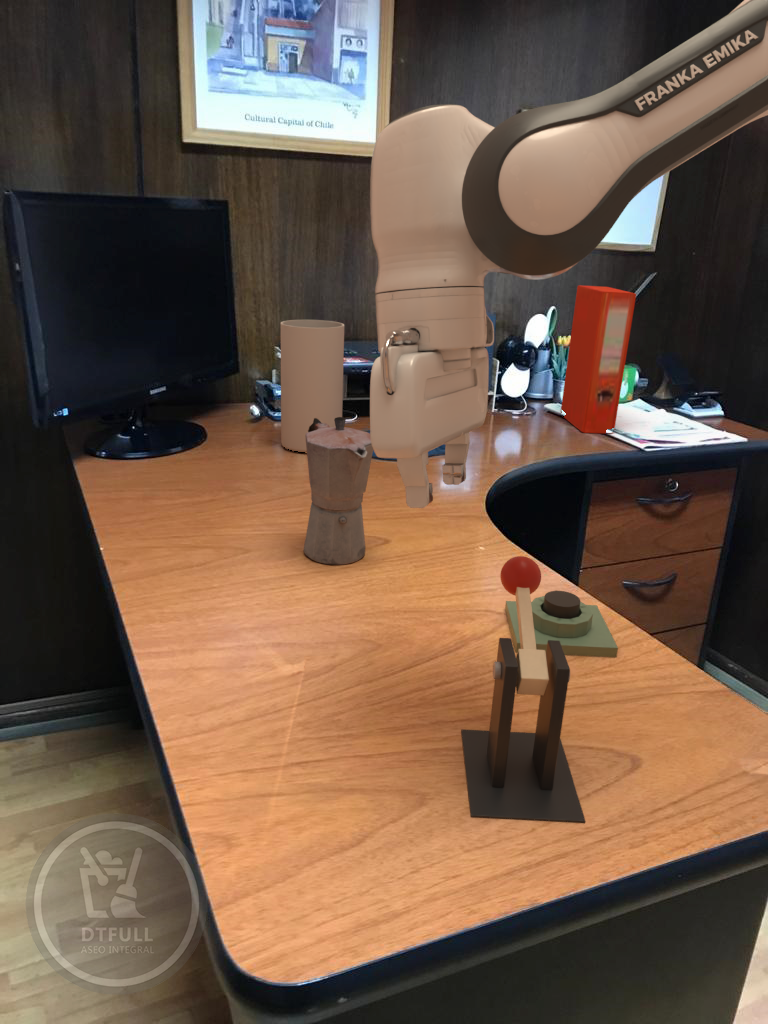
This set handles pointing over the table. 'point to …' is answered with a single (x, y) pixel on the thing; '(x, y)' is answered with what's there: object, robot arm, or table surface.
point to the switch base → (522, 750)
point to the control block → (566, 630)
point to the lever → (526, 624)
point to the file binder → (597, 357)
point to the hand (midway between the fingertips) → (438, 494)
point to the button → (561, 604)
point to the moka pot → (336, 491)
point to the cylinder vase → (310, 377)
